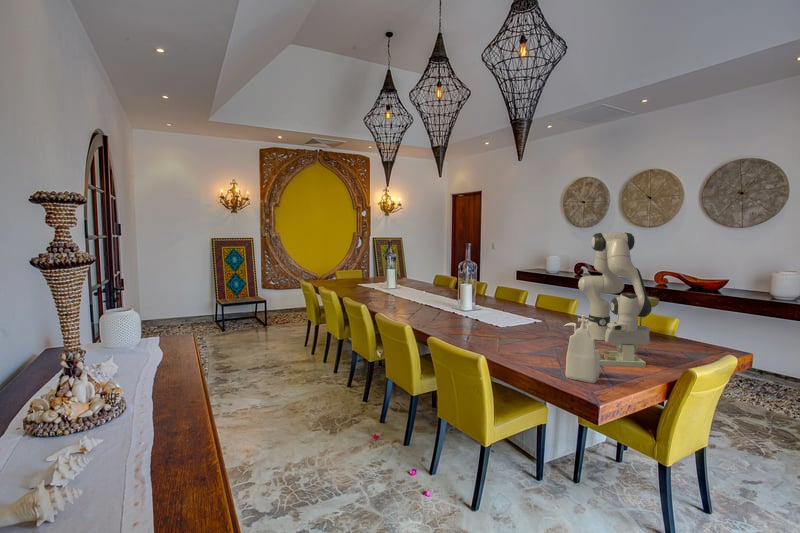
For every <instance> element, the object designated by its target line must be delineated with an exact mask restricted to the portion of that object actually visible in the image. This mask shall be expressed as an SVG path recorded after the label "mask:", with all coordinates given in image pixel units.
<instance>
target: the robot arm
mask: <svg viewBox="0 0 800 533" xmlns="http://www.w3.org/2000/svg"><path fill="white" fill-rule="evenodd" d="M590 245H591V249H592V250H594V251H595V253H594V254H595V256H594V261H593V268H594V269H595V271H597V272H598V273H601V274H602V275H586V276H582V277H580V278H579V280H578V283H577V284H578V285H577V287H578V289H579V291H580V292H581V293H583V294H584V295H585V296H586V297H587V300H588V302H589V314H588V317H587V319H588V323H586V322H585V323H584V324H585V329H587V330H588V331H589V334H590V336H591V338H593V339H594V341H605V343H607V344H609V345H610V344H611V345H612V344H613V345H615V347H616V348H617V350H616V351H618V352H619V353H622V349H621V348H619V346H620V344H633V345H634V354H636V350H637V348H639V345H642V346H648V345H649V344H650V341H651V340H650V337H649V336H650V333H651V332H650V331H651V330H650V327H649V326H646V325H641V326H640V325H639V319H638V318H641V317H642V318H645V317H647V316H649V315H650V314H651V313H652V310H653V309H652V308H653V307H652V308H651V303H650V301H649V299H648V296H647V295H648V294H647V291H646V290H647V289H646V287H645V284H644V281H643V277H642V273H641V271H640V270H639V268H637V267H635V266H636V265H635V266H634V264H633V262H632V257H631V252H630V251H632V249H634V248H635V236H634V235H633V233H631V232H620V231H619V232H618V231H617V232H616V231H613V232H597V233H595V234H592V237H591V240H590ZM622 278H624V279H627V280H628V281H629V282H631V283H632V286H633V289H634V292H635V293H633V292H622V291H623V290H624V288H625V282H624V280H623V279H622ZM621 292H622V293H621ZM618 293H620V296H617V297H614V298H612V300H611V301H610V303H609V301H607V300H605V299H604V298H602V297H601V294H604V295H605V294H607V295H609V294H611V295H614V294H618ZM610 312H612V313H613V315H615V316H618V318H617V320H615V321H611V316H610Z"/></svg>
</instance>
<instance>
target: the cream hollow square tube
mask: <svg viewBox="0 0 800 533" xmlns="http://www.w3.org/2000/svg"><path fill="white" fill-rule="evenodd" d="M619 348H621V349H622V353H619V358H620V359H621V360H622V361H634V355H635V353H634V345H633V344H620V346H619Z"/></svg>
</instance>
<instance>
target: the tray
mask: <svg viewBox="0 0 800 533" xmlns="http://www.w3.org/2000/svg"><path fill="white" fill-rule="evenodd" d="M608 351H609V354H613V355H614V356H615V357H616V361H613V360H600V366H599V367H603V366H604V367H622V368H623V367H626V368H627V367H628V368H629V367H630V368H647V362H646V361H644V359H641V357H639V356H637V355H636V354H634V361H622V360H621V359H620V358H619V352H618V351H617V350H608Z"/></svg>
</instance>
